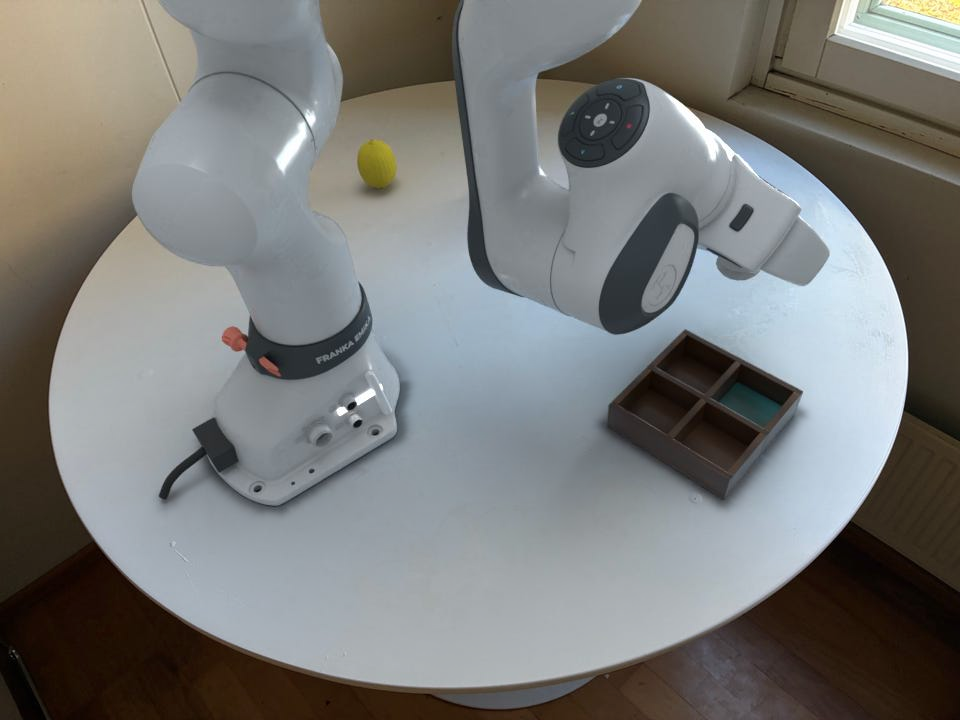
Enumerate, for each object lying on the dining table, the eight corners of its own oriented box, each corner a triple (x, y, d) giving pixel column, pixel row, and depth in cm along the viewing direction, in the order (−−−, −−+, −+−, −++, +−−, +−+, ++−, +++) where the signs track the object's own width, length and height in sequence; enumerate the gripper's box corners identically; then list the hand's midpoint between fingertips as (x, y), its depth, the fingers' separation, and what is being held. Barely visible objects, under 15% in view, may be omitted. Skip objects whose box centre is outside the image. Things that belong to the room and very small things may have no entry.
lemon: (407, 182, 114) (399, 135, 108) (385, 202, 111) (375, 155, 105) (378, 172, 116) (368, 125, 110) (355, 192, 113) (344, 145, 107)
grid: (723, 500, 75) (729, 480, 72) (606, 426, 82) (608, 405, 79) (795, 412, 81) (803, 391, 78) (681, 350, 88) (685, 328, 85)
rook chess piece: (761, 284, 77) (777, 220, 71) (715, 281, 78) (728, 217, 72) (759, 255, 80) (775, 192, 74) (714, 252, 81) (727, 189, 75)
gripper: (590, 170, 72) (655, 211, 83) (764, 281, 60) (814, 313, 71) (628, 109, 70) (690, 160, 81) (815, 212, 59) (858, 255, 69)
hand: (749, 232), depth 76 cm, fingers closed on rook chess piece, 3 cm apart
